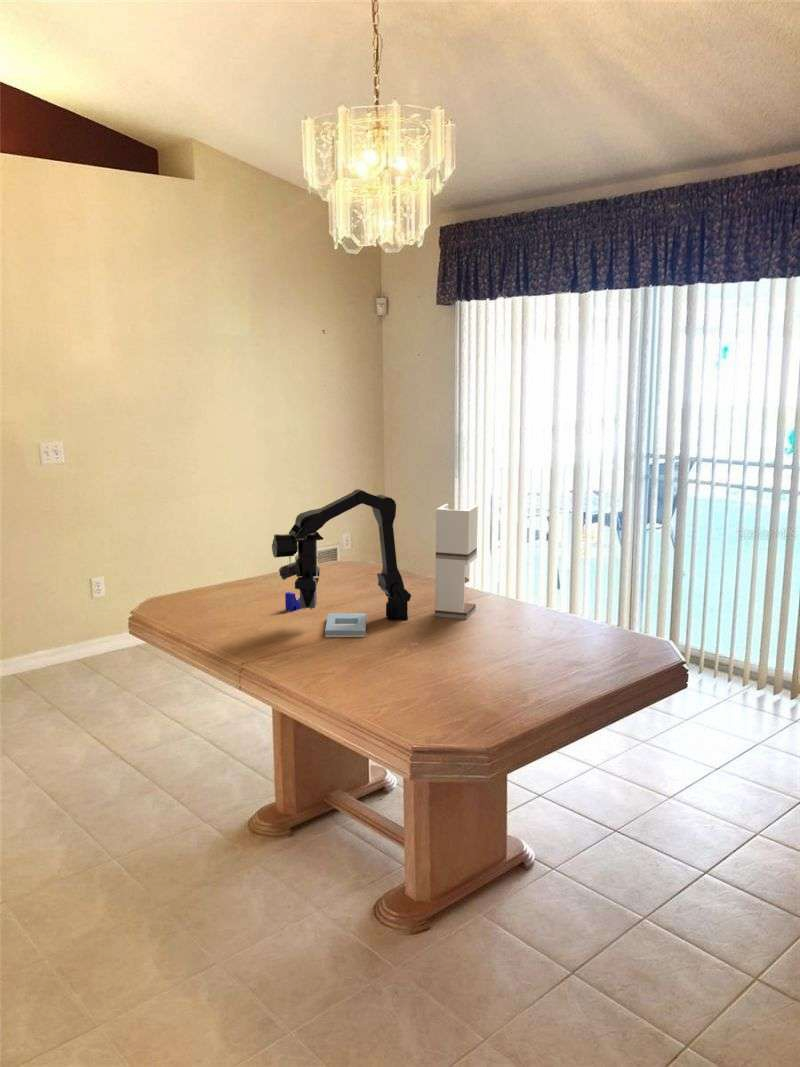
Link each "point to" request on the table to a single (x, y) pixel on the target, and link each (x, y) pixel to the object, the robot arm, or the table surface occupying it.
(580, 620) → the table surface
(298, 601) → the blue notched cradle
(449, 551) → the white dispenser
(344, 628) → the socket
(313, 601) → the plug
